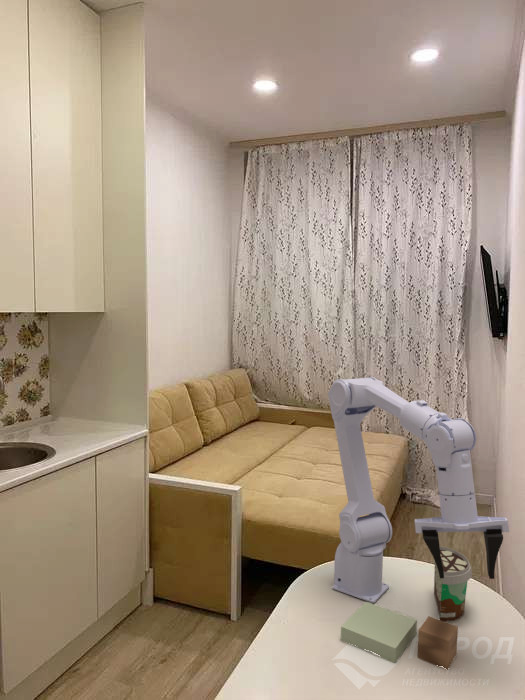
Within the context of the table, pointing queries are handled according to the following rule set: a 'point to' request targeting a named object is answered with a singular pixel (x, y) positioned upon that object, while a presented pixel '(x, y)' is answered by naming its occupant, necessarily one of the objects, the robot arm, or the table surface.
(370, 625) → the sage base block
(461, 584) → the food container
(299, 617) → the table surface
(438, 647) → the walnut cube
